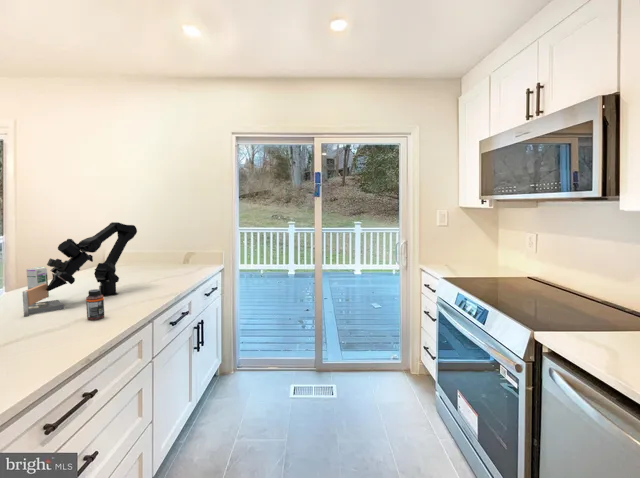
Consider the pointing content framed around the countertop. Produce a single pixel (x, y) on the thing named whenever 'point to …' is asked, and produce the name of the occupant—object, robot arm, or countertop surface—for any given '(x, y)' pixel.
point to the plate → (40, 306)
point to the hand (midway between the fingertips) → (47, 290)
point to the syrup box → (36, 277)
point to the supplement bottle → (95, 305)
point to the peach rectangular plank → (37, 293)
